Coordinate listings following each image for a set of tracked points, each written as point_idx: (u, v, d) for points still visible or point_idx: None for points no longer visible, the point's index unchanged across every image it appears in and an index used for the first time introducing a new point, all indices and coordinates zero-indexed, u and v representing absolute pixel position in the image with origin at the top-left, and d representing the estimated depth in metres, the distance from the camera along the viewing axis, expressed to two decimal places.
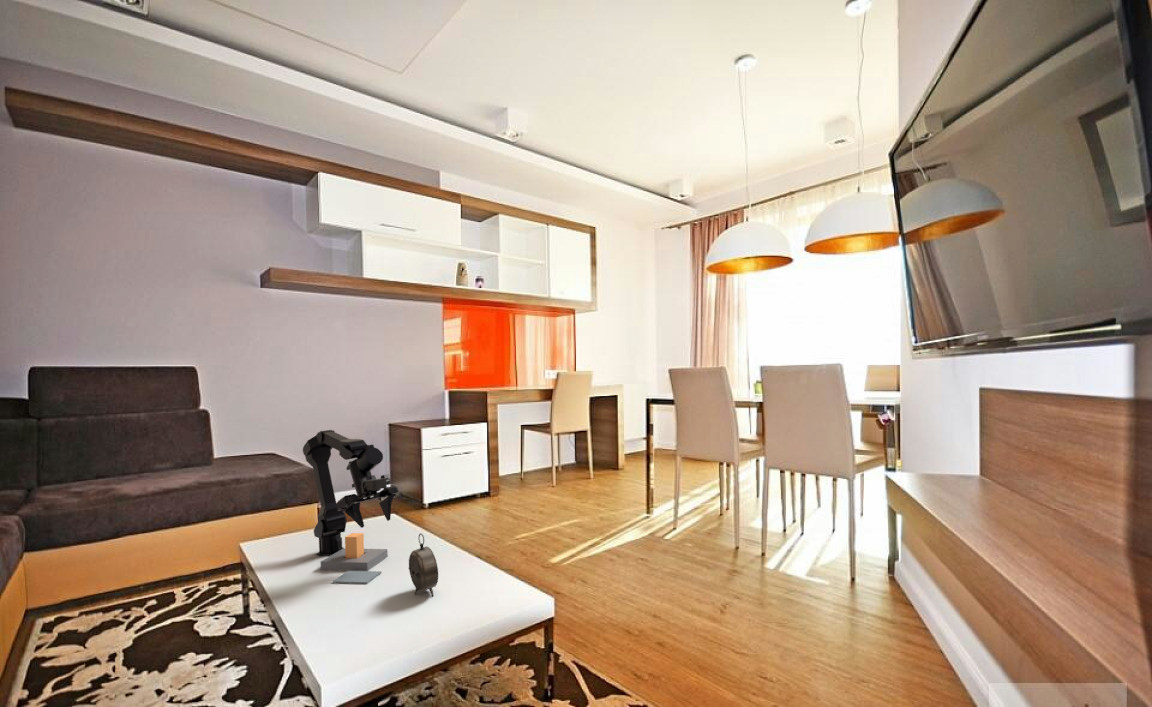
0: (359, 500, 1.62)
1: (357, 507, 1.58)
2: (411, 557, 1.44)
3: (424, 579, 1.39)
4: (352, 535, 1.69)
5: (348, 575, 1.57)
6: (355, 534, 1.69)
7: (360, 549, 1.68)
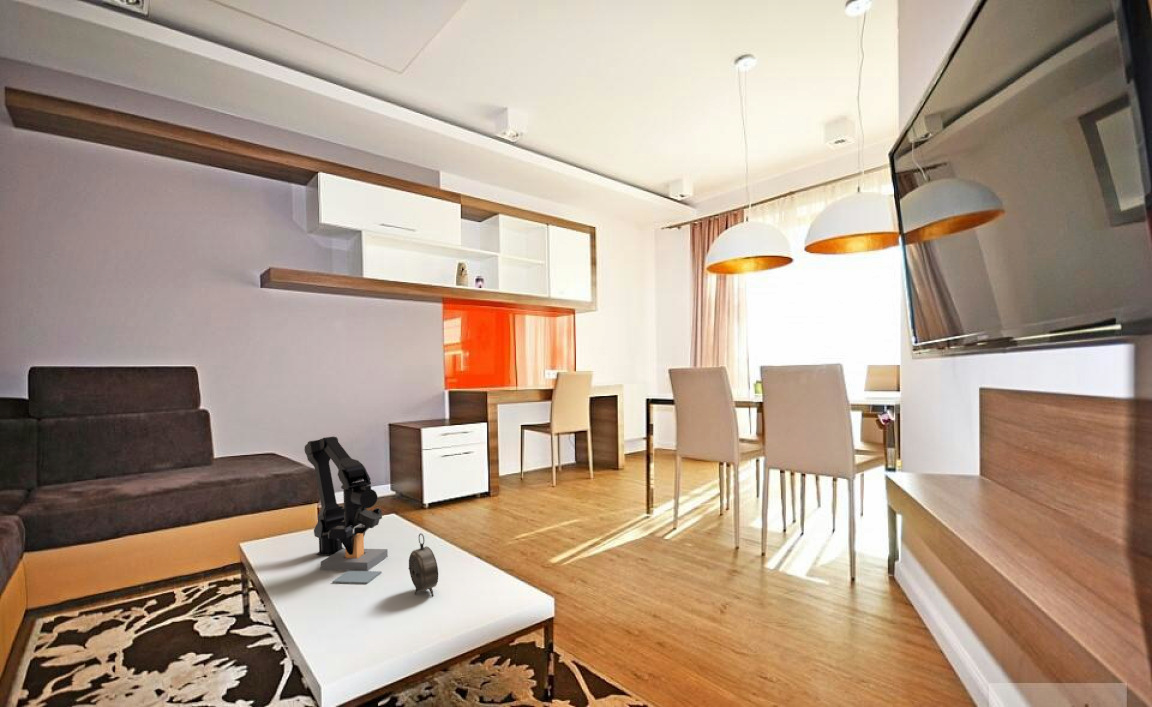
0: None
1: (353, 537, 1.65)
2: (411, 557, 1.44)
3: (424, 578, 1.39)
4: None
5: (348, 575, 1.57)
6: None
7: (360, 549, 1.68)
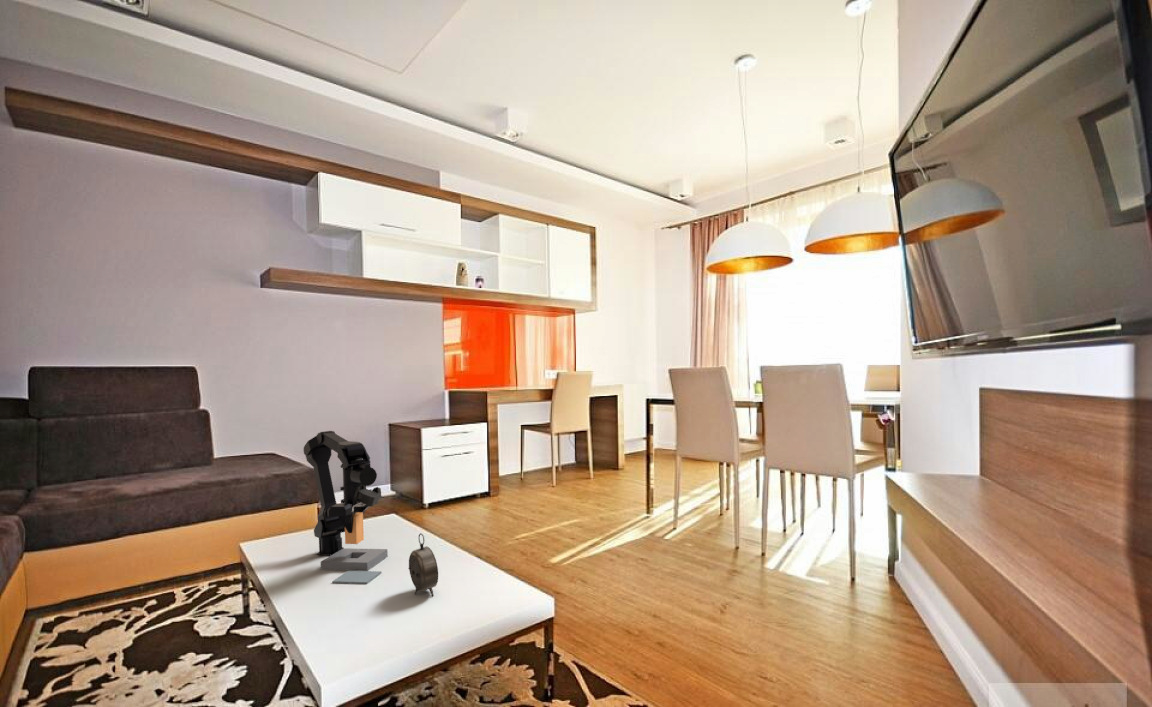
0: None
1: (353, 515, 1.66)
2: (411, 557, 1.44)
3: (424, 579, 1.39)
4: None
5: (348, 575, 1.57)
6: None
7: (359, 527, 1.69)
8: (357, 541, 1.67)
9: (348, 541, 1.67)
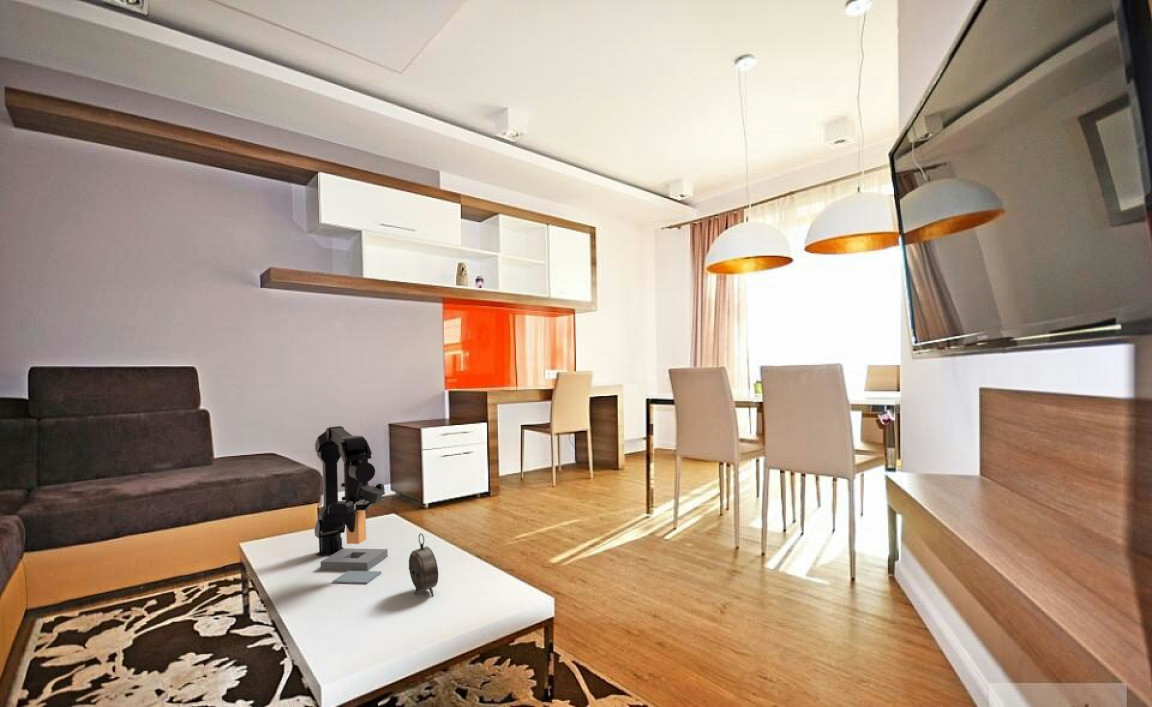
0: None
1: (355, 513, 1.56)
2: (411, 557, 1.44)
3: (424, 578, 1.39)
4: None
5: (348, 575, 1.57)
6: None
7: (361, 526, 1.59)
8: (359, 541, 1.57)
9: (350, 541, 1.57)
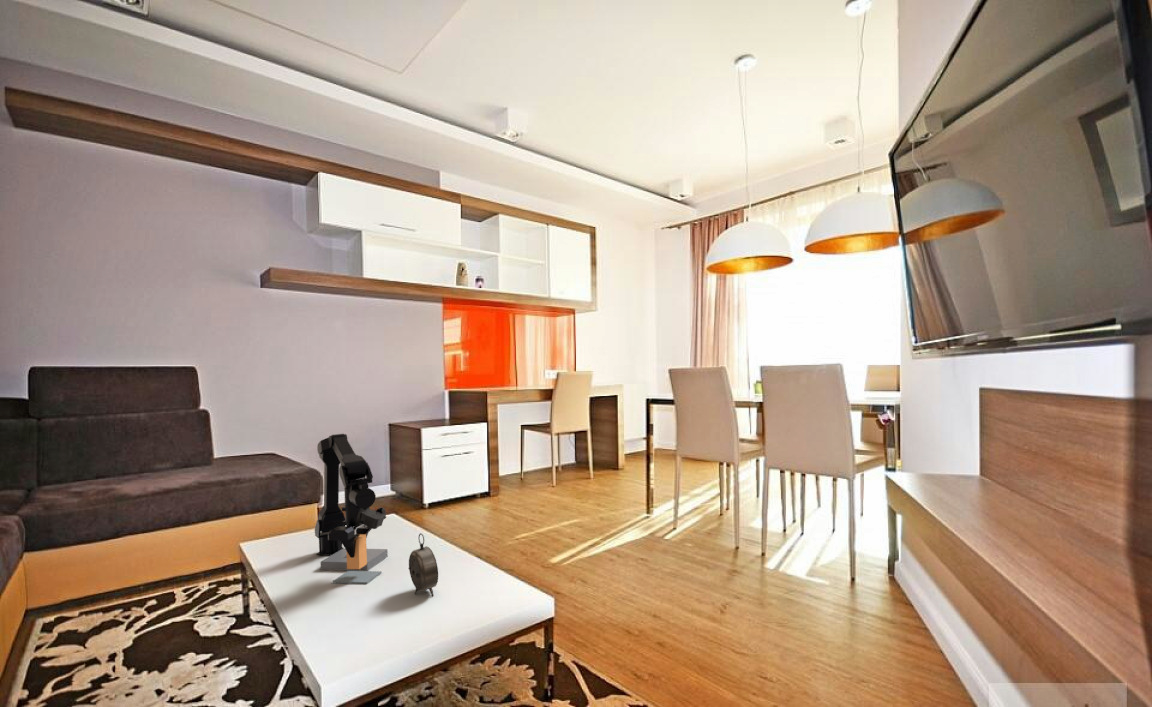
0: None
1: (355, 539, 1.53)
2: (411, 557, 1.44)
3: (424, 579, 1.39)
4: None
5: (348, 575, 1.57)
6: None
7: (362, 551, 1.56)
8: (360, 566, 1.55)
9: (350, 566, 1.55)
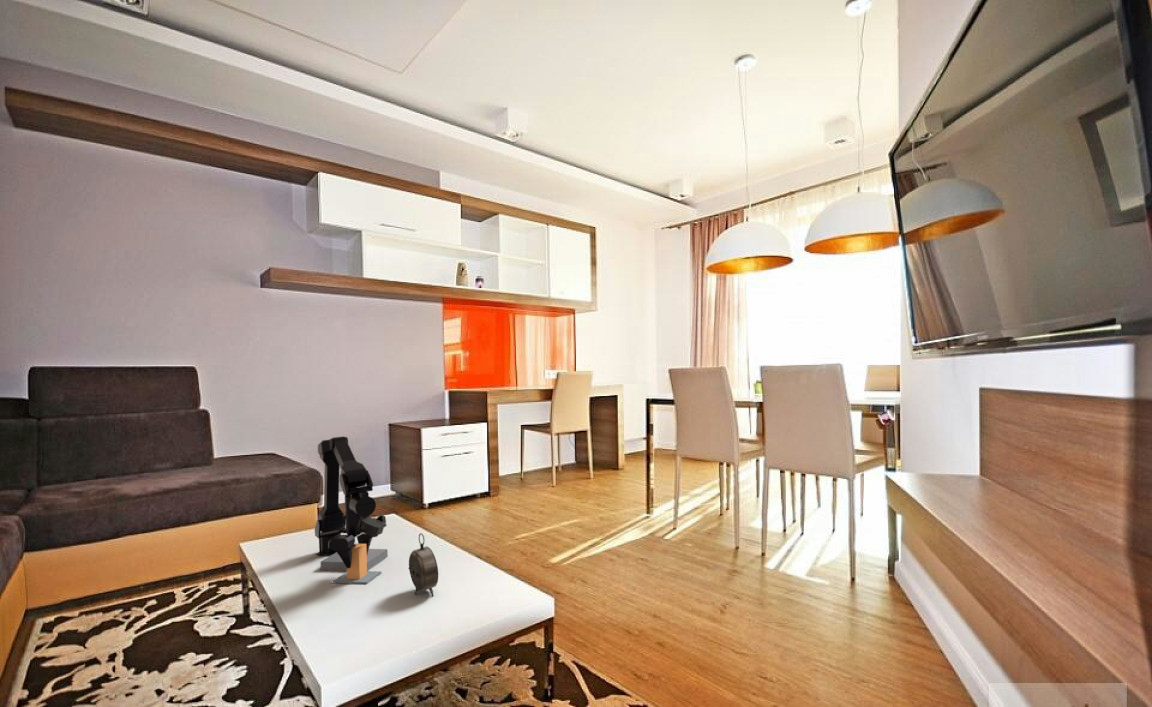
0: None
1: (352, 549, 1.51)
2: (411, 557, 1.44)
3: (424, 578, 1.39)
4: None
5: None
6: (358, 545, 1.56)
7: (362, 561, 1.56)
8: (360, 576, 1.54)
9: (350, 576, 1.54)
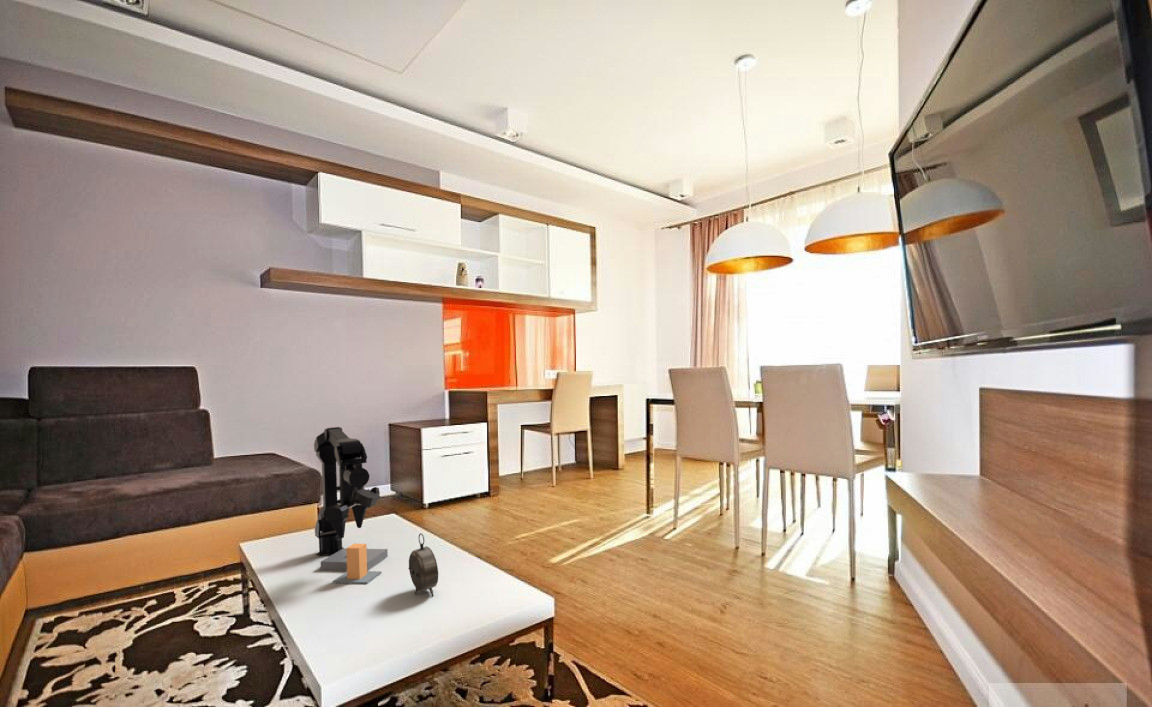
0: None
1: (345, 519, 1.54)
2: (411, 557, 1.44)
3: (424, 579, 1.39)
4: (354, 546, 1.56)
5: None
6: (358, 545, 1.56)
7: (362, 561, 1.56)
8: (360, 576, 1.54)
9: (350, 576, 1.54)
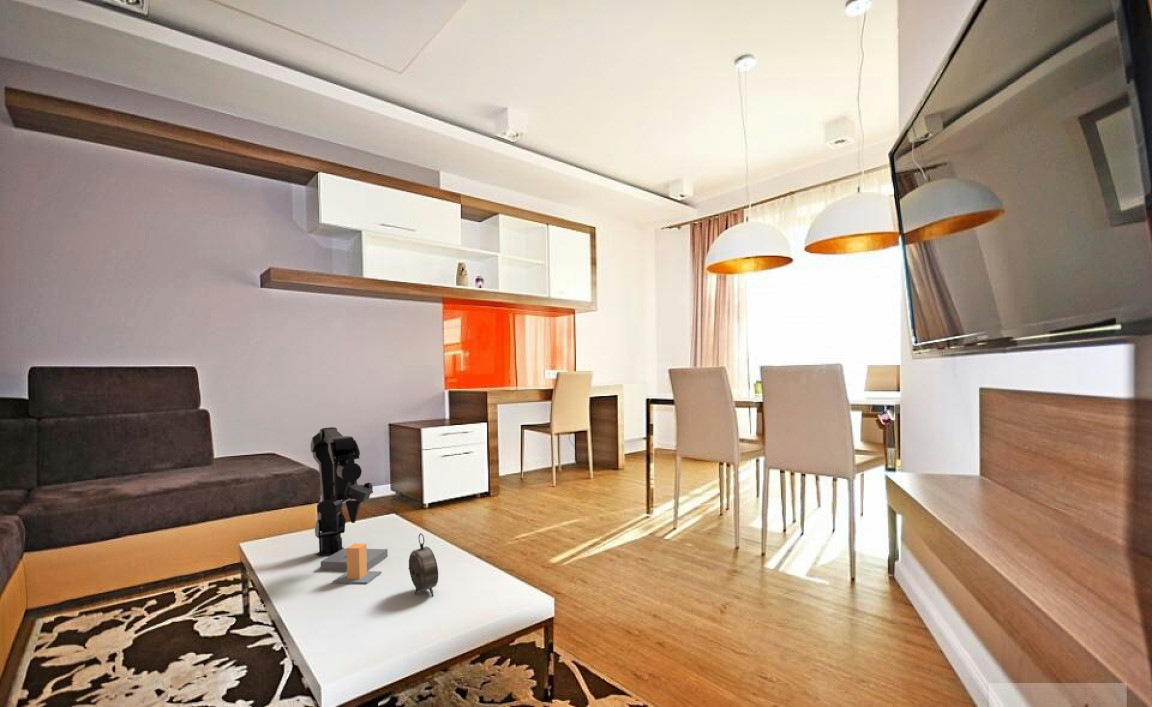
0: None
1: (338, 513, 1.58)
2: (411, 557, 1.44)
3: (424, 579, 1.39)
4: (354, 546, 1.56)
5: None
6: (358, 545, 1.56)
7: (362, 561, 1.56)
8: (360, 576, 1.54)
9: (350, 576, 1.54)
